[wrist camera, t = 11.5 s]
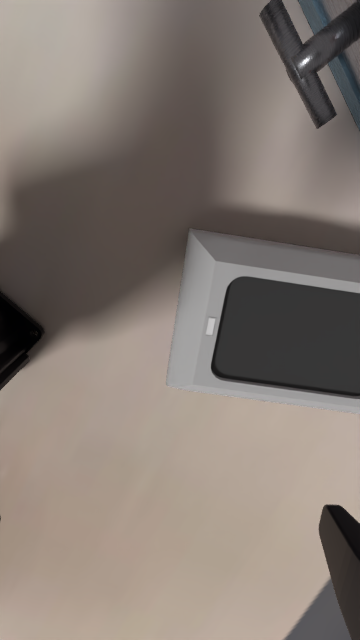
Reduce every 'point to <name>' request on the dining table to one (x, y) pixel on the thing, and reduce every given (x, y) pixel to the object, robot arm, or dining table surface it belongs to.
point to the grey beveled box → (268, 322)
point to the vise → (320, 52)
